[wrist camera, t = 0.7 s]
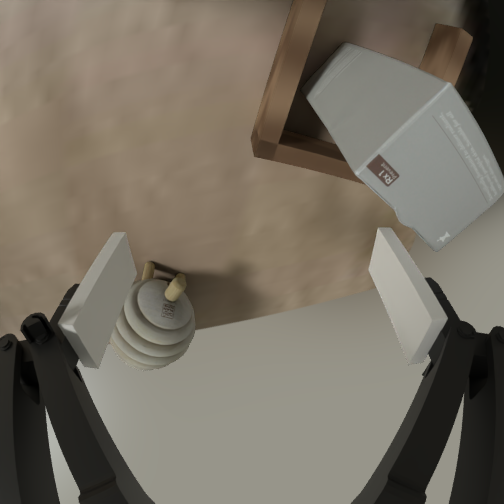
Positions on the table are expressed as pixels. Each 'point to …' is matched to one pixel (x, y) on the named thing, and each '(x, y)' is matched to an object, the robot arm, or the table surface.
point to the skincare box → (407, 140)
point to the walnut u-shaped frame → (288, 75)
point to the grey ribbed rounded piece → (154, 322)
